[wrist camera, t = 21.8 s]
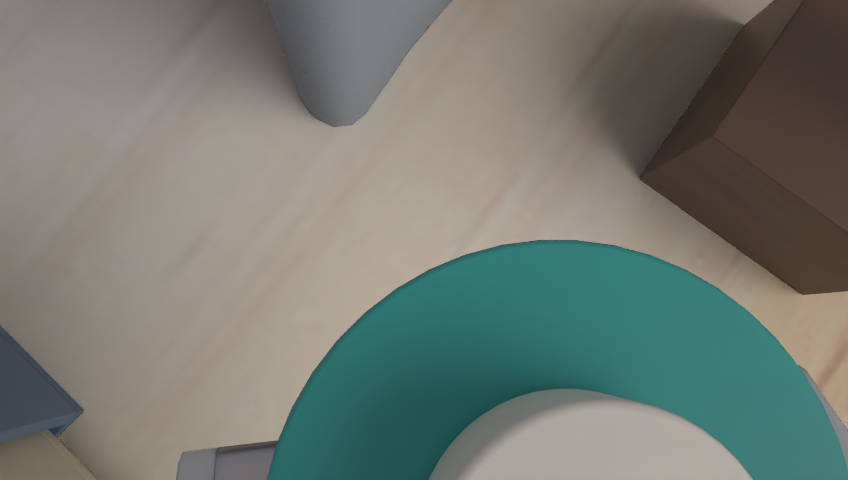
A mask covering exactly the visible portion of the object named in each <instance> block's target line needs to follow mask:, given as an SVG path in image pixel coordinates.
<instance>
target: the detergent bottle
mask: <svg viewBox="0 0 848 480" xmlns="http://www.w3.org/2000/svg"><path fill="white" fill-rule="evenodd" d="M267 480H848V467H847V464H846V461H845V458H844V455H843V452H842V449H841V445H840V442H839V439H838V437H837V435H836V433H835V431H834V428H833V426H832V424H831V422H830V420H829V418H828V415H827V413H826V411H825V409H824V407H823V404H822V403H821V401H820V399H819V398H818V396H817V395H816V393H815V391H814V390H813V388H812V386H811V385H810V383H809V382H808V380H807V378H806V377H805V375H804V373H803V372H802V370H801V369H800V368H799V366H798V365H797V364H796V363H795V361H794V360H793V359H792V358H791V356H790V355H789V354H788V353H787V351H786V350H785V349H784V348H783V346H782V345H781V344H780V343H779V341H778V340H777V339H776V338H775V337H774V336H773V335H772V334H771V333H770V332H769V331H768V330H767V329H766V328H765V327H764V326H763V325H762V324H761V323H760V322H759V321H758V320H757V319H756V318H755V317H754V316H753V315H752V314H751V313H750V312H748V311H747V310H746V309H745V308H743V307H742V306H741V305H739V304H738V303H737V302H735V301H734V300H733V299H731V298H730V297H729V296H727V295H726V294H725V293H723V292H722V291H721V290H719V289H718V288H716V287H715V286H713V285H711V284H709V283H708V282H706V281H704V280H702V279H701V278H699V277H697V276H695V275H694V274H692V273H690V272H688V271H687V270H685V269H682V268H680V267H678V266H675V265H673V264H670V263H668V262H665V261H663V260H661V259H658V258H656V257H653V256H651V255H648V254H644V253H640V252H637V251H633V250H629V249H625V248H622V247H618V246H614V245H607V244H600V243H593V242H585V241H578V240H537V241H529V242H522V243H514V244H506V245H500V246H496V247H493V248H489V249H485V250H481V251H478V252H474V253H470V254H466V255H463V256H461V257H459V258H456V259H454V260H451V261H449V262H446V263H444V264H442V265H439V266H437V267H434V268H432V269H430V270H428V271H426V272H424V273H423V274H421V275H419V276H417V277H416V278H414V279H412V280H411V281H409V282H407V283H405V284H404V285H402V286H400V287H398V288H397V289H395V290H394V291H393V292H391V293H390V294H389V295H387V296H386V297H385V298H383V299H382V300H381V301H380V302H378V303H377V304H376V305H374V306H373V307H372V308H370V309H369V310H368V311H367V312H365V313H364V314H363V315H362V316H361V317H360V318H359V319H358V320H357V321H356V322H355V323H354V324H353V325H352V326H351V327H350V328H349V329H348V330H347V331H346V332H345V333H344V334H343V335H342V336H341V337H340V338H339V339H338V340H337V341H336V343H335V344H334V345H333V347H332V348H331V349H330V350H329V352H328V353H327V354H326V356H325V357H324V358H323V359H322V361H321V362H320V363H319V365H318V366H317V367H316V369H315V370H314V371H313V373H312V374H311V376H310V378H309V379H308V381H307V383H306V385H305V386H304V388H303V390H302V391H301V393H300V395H299V397H298V398H297V400H296V402H295V403H294V405H293V407H292V409H291V411H290V414H289V416H288V418H287V421H286V423H285V425H284V428H283V430H282V433H281V435H280V437H279V440H278V442H277V444H276V448H275V451H274V455H273V458H272V462H271V465H270V469H269V473H268V476H267Z"/></svg>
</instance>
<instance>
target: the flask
mask: <svg viewBox="0 0 848 480" xmlns="http://www.w3.org/2000/svg"><path fill="white" fill-rule="evenodd" d="M452 1H453V0H267V3H268V6H269V9H270V12H271V15H272V18H273V21H274V24H275V26H276V29H277V32H278V35H279V38H280V41H281V44H282V47H283V50H284V52H285V55H286V58H287V61H288V64H289V67H290V70H291V73H292V76H293V78H294V81H295V84H296V87H297V90H298V93H299V96H300V98H301V100H302V101H303V103H304V104H305V106H306V107H307V109H308V110H309V111H310V113H312V114H313V115H314V116H315V117H316V118H317V119H319V120H321V121H323V122H325V123H327V124H329V125H331V126H333V127H337V126H346V125H352V124H353V123H355V122H356V121H357V120H358V119H360V118H361V117H362V116H363V115H365V114H366V112H367V111H368V109H369V108H370V107H371V105H372V104H373V102H374V101H375V99H376V98H377V96H378V95H379V94H380V92H381V91H382V89H383V88H384V86H385V85H386V83H387V82H388V81H389V79H390V78H391V76H392V75H393V73H394V72H395V70H396V69H397V68H398V66H399V65H400V63H401V62H402V60H403V59H404V57H405V56H406V55H407V53H408V52H409V50H410V49H411V48H412V46H413V45H414V44H415V43H416V42H417V41H418V39H419V38H420V37H421V36H422V35H423V33H424V32H425V31H426V30H427V29H428V28H429V26H430V25H431V24H432V23H433V22H434V21H435V19H436V18H437V17H438V16H439V15H440V13H441V12H442V11H443V10H444V9H445V8H446V6H447V5H448V4H449V3H451V2H452Z"/></svg>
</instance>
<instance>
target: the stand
mask: <svg viewBox="0 0 848 480" xmlns="http://www.w3.org/2000/svg"><path fill="white" fill-rule="evenodd" d="M640 180H642V181H643V182H645V183H646V184H647V185H649V186H650V187H652V188H653V189H654V190H656V191H657V192H659V193H660V194H661V195H663V196H664V197H666V198H667V199H669V200H670V201H671V202H673V203H674V204H676V205H677V206H678V207H680V208H681V209H683V210H684V211H685V212H687V213H688V214H690V215H691V216H692V217H694V218H695V219H697V220H698V221H700V222H701V223H702V224H704V225H705V226H707V227H708V228H709V229H711V230H712V231H714V232H715V233H716V234H718V235H719V236H721V237H722V238H723V239H725V240H726V241H728V242H729V243H730V244H732V245H733V246H735V247H736V248H738V249H739V250H740V251H742V252H743V253H745V254H746V255H747V256H749V257H750V258H752V259H753V260H754V261H756V262H757V263H759V264H760V265H761V266H763V267H764V268H766V269H767V270H769V271H770V272H771V273H773V274H774V275H776V276H777V277H778V278H780V279H781V280H783V281H784V282H785V283H787V284H788V285H790V286H791V287H792V288H794V289H795V290H797V291H798V292H799V293H801V294H802V295H808V294H820V293H832V292H843V291H848V0H774V1H773V2H771V3H770V4H769V5H768V6H767V7H765V8H764V9H763V10H762V11H761V12H759V13H758V14H757V15H756V16H755V17H753V18H752V19H751V20H750V21H749V22H747V23H746V24H745V25H744V27H743V28H742V30H741V31H740V32H739V34H738V35H737V37H736V38H735V40H734V41H733V43H732V44H731V46H730V47H729V48H728V50H727V51H726V53H725V54H724V56H723V57H722V59H721V60H720V61H719V63H718V64H717V66H716V67H715V69H714V70H713V72H712V73H711V75H710V76H709V77H708V79H707V80H706V82H705V83H704V85H703V86H702V88H701V89H700V90H699V92H698V93H697V95H696V96H695V98H694V99H693V101H692V102H691V104H690V105H689V106H688V108H687V109H686V111H685V112H684V114H683V115H682V117H681V118H680V120H679V121H678V122H677V124H676V125H675V127H674V128H673V130H672V131H671V133H670V134H669V135H668V137H667V138H666V140H665V141H664V143H663V144H662V146H661V147H660V149H659V150H658V151H657V153H656V154H655V156H654V157H653V159H652V160H651V162H650V163H649V165H648V166H647V167H646V169H645V170H644V172H643V173H642V175H641V176H640Z"/></svg>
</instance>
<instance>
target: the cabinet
mask: <svg viewBox="0 0 848 480" xmlns="http://www.w3.org/2000/svg"><path fill="white" fill-rule="evenodd" d="M82 412H83V409H82V408H81V407H80V406H79V405H78V404H77V403H76V402H75V401H74V400H73V399H72V398H71V397H70V396H69V395H68V394H67V393H66V392H65V391H64V390H63V389H62V388H61V387H60V386H59V385H58V384H57V383H56V382H55V381H54V380H53V379H52V378H51V377H50V376H49V375H48V374H47V373H46V371H45V370H44V369H43V368H42V367H41V366H40V365H39V364H38V363H37V362H36V361H35V360H34V359H33V358H32V357H31V356H30V355H29V354H28V353H27V352H26V351H25V350H24V349H23V348H22V347H21V346H20V345H19V344H18V343H17V342H16V341H15V340H14V339H13V338H12V337H11V336H10V335H9V334H8V333H7V332H6V331H5V330H4V329H3V328H2V327H1V326H0V444H1V443H4V442H7V441H11V440H14V439H17V438H21V437H24V436H28V435H31V434H34V433H38V432H41V431H44V430H49V431H50V432H51V433H52V434H53V435H54V436H55V437H56V438H57V437H58V436H59V435H60V434H61V433H62V432H63V431H64V430H65V429H66V428H67V427H68V426H69V425H70V424H71V423H72V422H73V421H74V420H75V419H76V418H77V417H78V416H79V415H80V414H81V413H82Z"/></svg>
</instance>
